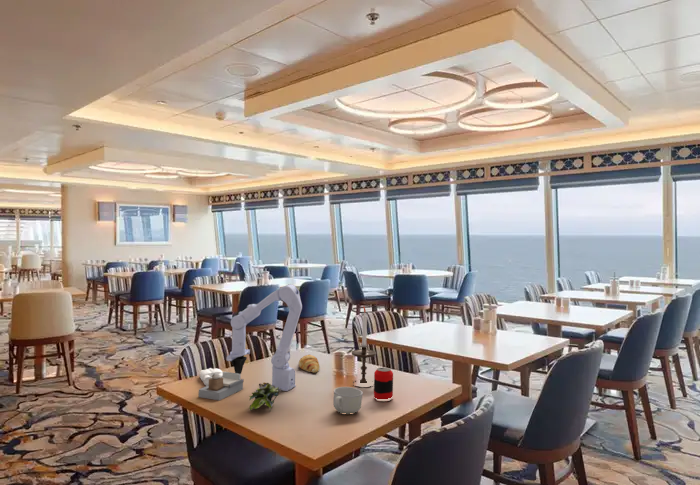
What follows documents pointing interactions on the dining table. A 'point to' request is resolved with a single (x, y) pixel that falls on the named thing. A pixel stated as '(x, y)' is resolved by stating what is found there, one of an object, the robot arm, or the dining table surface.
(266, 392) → the green leafy plant
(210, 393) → the housing
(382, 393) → the soda can
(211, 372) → the binoculars
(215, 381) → the block
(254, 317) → the robot arm
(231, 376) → the lid
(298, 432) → the dining table surface
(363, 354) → the candlestick
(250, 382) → the dining table surface
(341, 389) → the teacup
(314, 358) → the croissant
